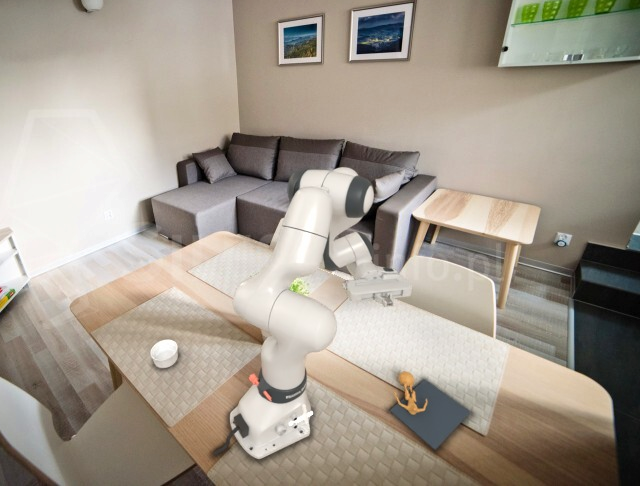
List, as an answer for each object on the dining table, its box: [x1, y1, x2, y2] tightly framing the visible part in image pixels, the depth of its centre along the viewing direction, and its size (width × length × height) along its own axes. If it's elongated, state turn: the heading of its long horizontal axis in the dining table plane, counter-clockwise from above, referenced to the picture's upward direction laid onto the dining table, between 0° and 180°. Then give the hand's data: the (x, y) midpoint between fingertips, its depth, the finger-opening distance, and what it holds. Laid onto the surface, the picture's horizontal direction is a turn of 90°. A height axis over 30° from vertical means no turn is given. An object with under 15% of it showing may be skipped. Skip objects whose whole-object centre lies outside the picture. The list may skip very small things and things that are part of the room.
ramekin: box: [149, 339, 179, 369], centre depth 108 cm, size 9×9×4 cm
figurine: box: [393, 371, 427, 415], centre depth 89 cm, size 8×6×12 cm
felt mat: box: [389, 379, 471, 451], centre depth 86 cm, size 16×12×1 cm
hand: (389, 304), depth 99 cm, fingers closed
